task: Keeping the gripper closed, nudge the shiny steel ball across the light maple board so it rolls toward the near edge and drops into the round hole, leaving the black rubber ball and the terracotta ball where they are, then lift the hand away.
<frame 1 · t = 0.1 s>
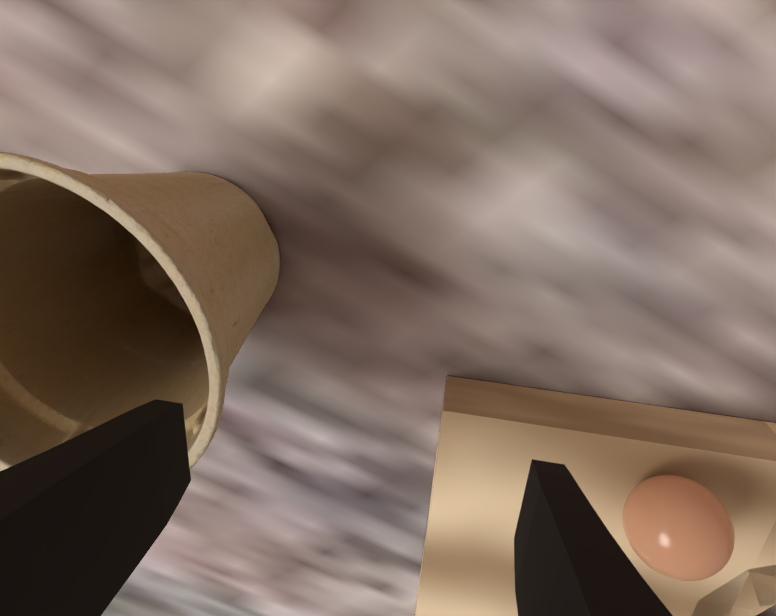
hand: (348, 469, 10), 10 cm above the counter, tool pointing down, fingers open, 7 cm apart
terracotta ball: (675, 525, 17), point 4 cm above the counter, touching board
flower pot: (211, 251, 20), on the counter
board: (650, 563, 22), on the counter
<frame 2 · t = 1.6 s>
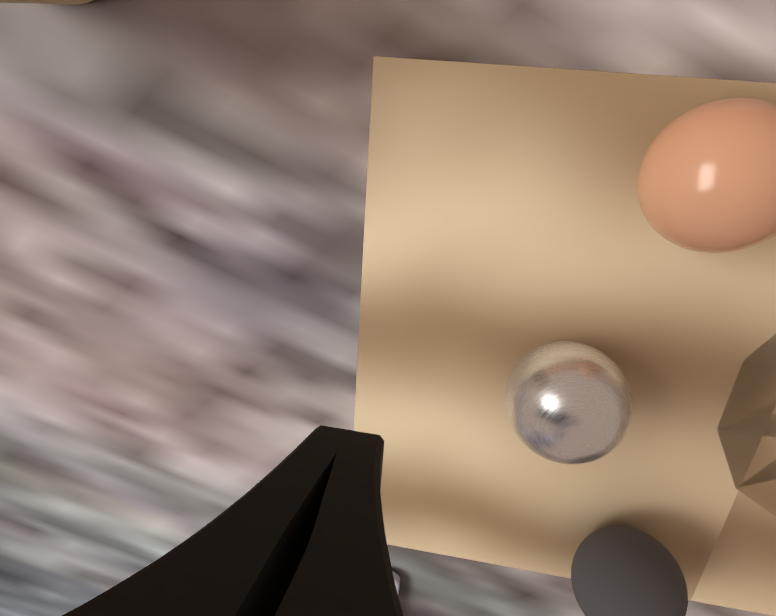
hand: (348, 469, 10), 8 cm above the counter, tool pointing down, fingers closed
terracotta ball: (720, 178, 11), point 4 cm above the counter, touching board
black rubber ball: (626, 583, 15), point 4 cm above the counter, touching board
board: (670, 351, 17), on the counter
steel ball: (566, 401, 13), point 4 cm above the counter, touching board
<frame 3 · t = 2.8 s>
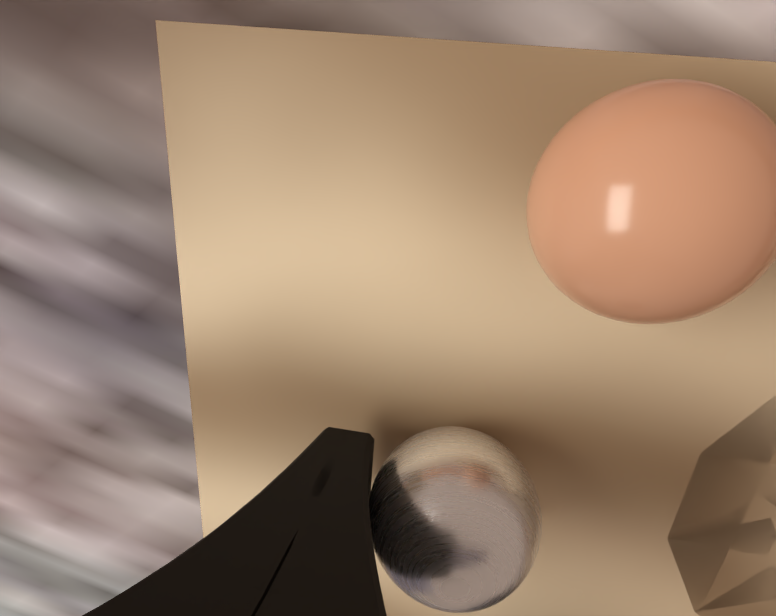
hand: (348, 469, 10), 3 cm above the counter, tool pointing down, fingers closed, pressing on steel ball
terracotta ball: (647, 207, 7), point 4 cm above the counter, touching board
board: (614, 420, 13), on the counter
steel ball: (453, 513, 9), point 4 cm above the counter, touching board, gripper
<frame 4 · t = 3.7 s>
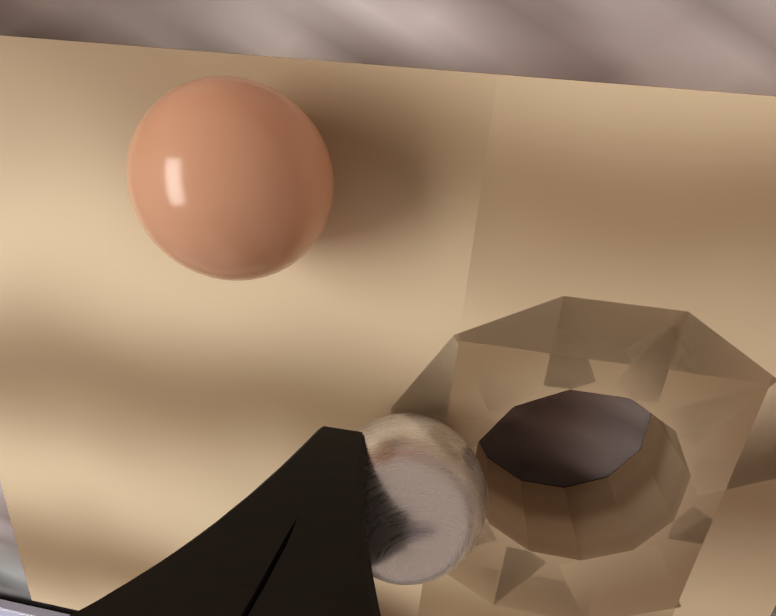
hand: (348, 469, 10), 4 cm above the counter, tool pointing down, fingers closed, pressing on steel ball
terracotta ball: (235, 183, 8), point 4 cm above the counter, touching board
board: (374, 389, 14), on the counter
steel ball: (405, 494, 10), point 4 cm above the counter, tilted 163°, touching board, gripper
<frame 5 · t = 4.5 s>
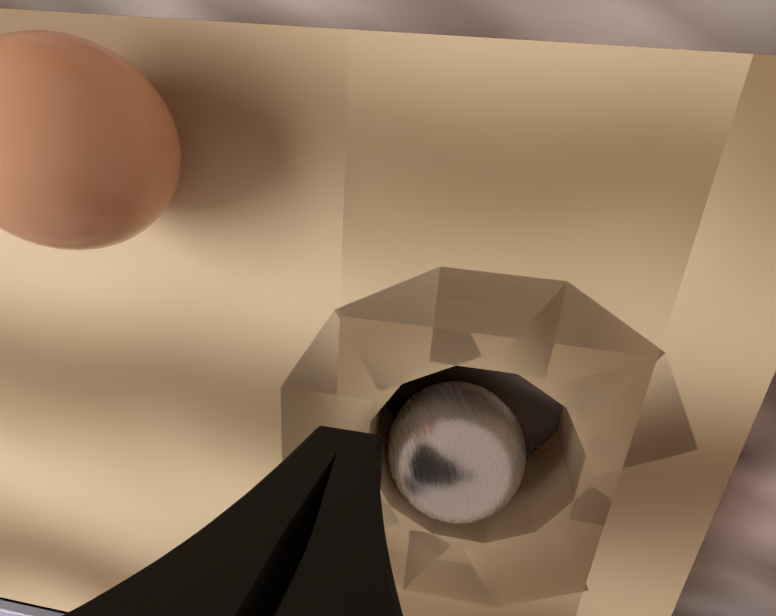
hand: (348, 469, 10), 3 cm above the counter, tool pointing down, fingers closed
terracotta ball: (70, 147, 8), point 4 cm above the counter, touching board
board: (287, 370, 14), on the counter
steel ball: (455, 449, 12), point 2 cm above the counter, tilted 70°
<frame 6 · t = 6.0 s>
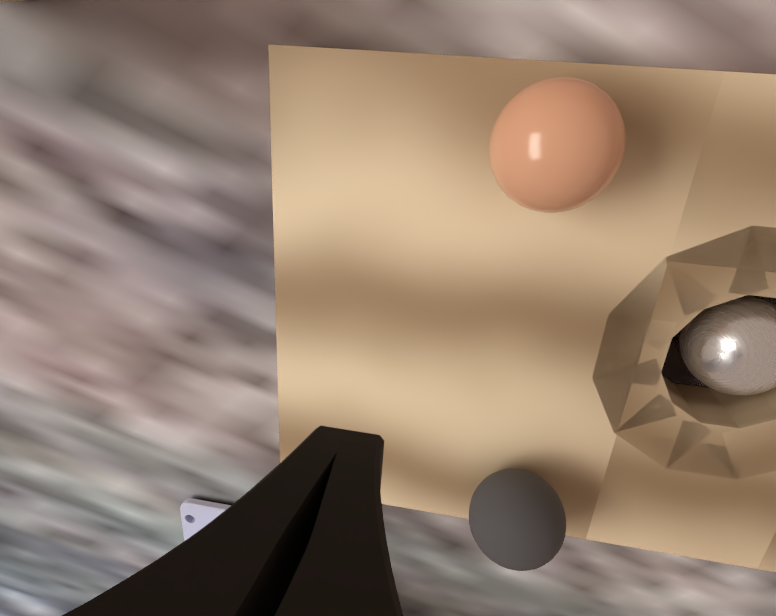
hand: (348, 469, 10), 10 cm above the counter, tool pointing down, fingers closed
terracotta ball: (554, 147, 13), point 4 cm above the counter, touching board
black rubber ball: (516, 517, 17), point 4 cm above the counter, touching board
board: (563, 313, 18), on the counter
steel ball: (736, 344, 16), point 2 cm above the counter, tilted 52°
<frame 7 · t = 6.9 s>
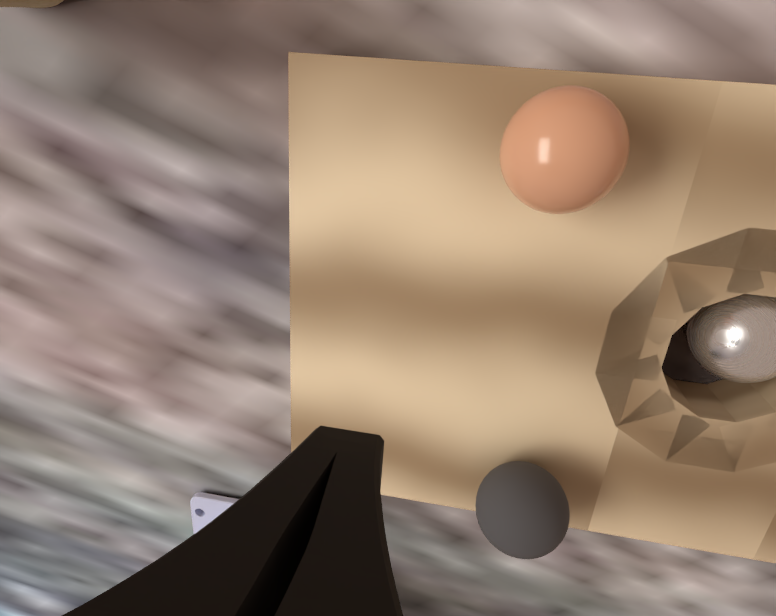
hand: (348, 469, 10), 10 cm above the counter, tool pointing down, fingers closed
terracotta ball: (561, 152, 13), point 4 cm above the counter, touching board
black rubber ball: (521, 508, 18), point 4 cm above the counter, touching board
board: (567, 311, 19), on the counter
steel ball: (742, 334, 17), point 2 cm above the counter, tilted 47°
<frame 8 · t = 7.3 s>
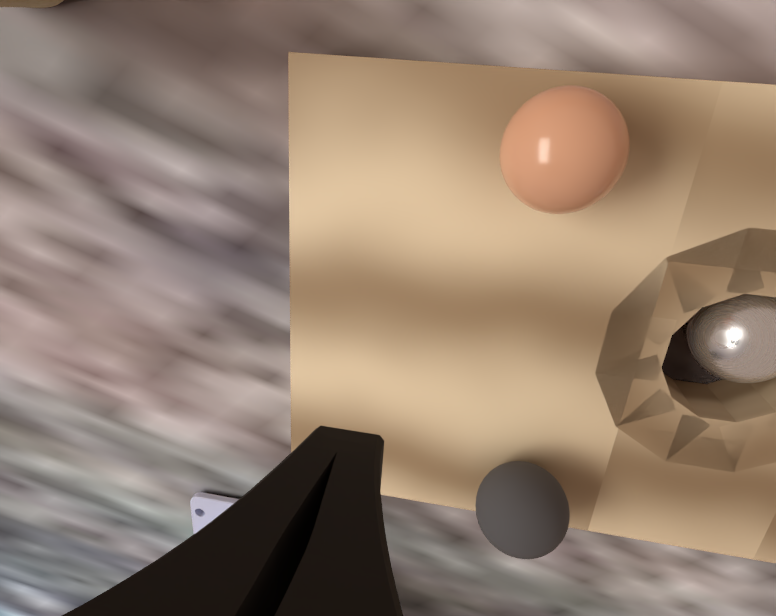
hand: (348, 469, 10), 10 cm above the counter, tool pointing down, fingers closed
terracotta ball: (561, 152, 13), point 4 cm above the counter, touching board
black rubber ball: (521, 508, 18), point 4 cm above the counter, touching board
board: (567, 311, 19), on the counter
steel ball: (742, 334, 17), point 2 cm above the counter, tilted 47°
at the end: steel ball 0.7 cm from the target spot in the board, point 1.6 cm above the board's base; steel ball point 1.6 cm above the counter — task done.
